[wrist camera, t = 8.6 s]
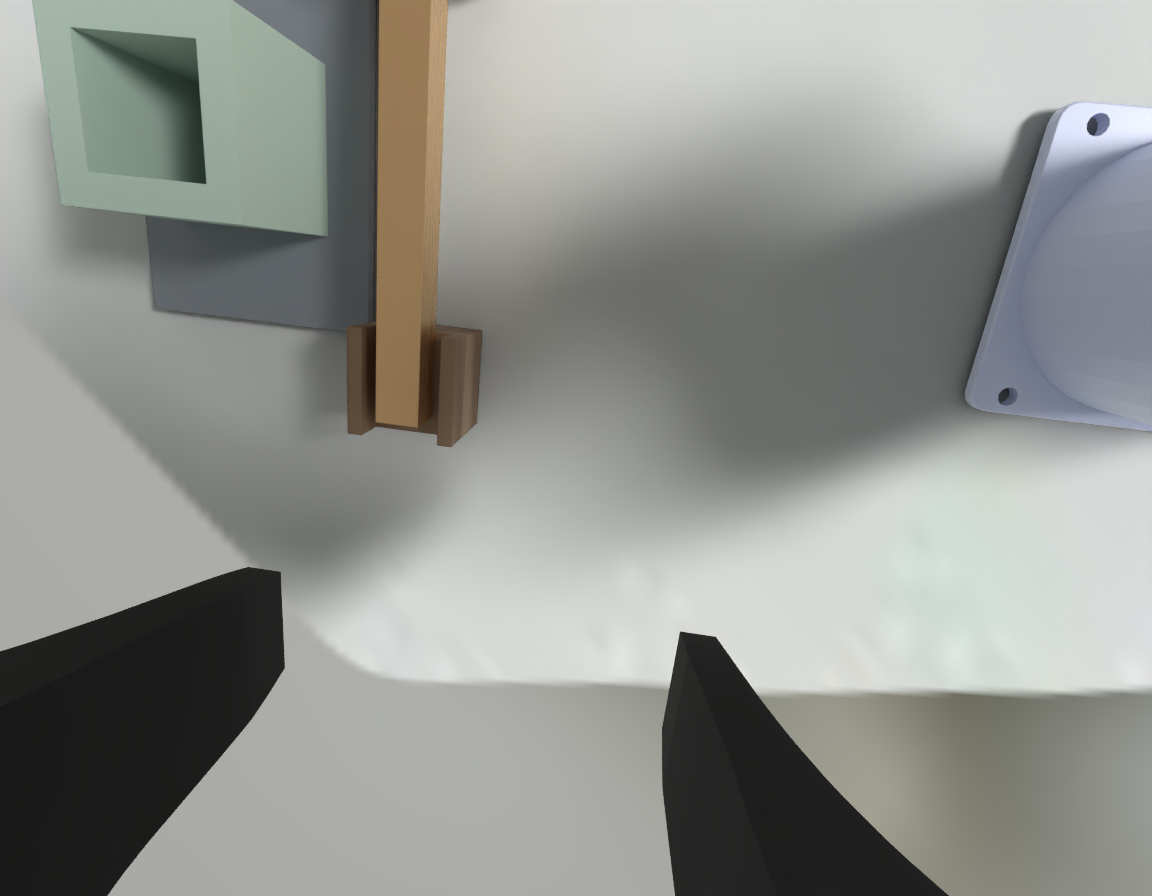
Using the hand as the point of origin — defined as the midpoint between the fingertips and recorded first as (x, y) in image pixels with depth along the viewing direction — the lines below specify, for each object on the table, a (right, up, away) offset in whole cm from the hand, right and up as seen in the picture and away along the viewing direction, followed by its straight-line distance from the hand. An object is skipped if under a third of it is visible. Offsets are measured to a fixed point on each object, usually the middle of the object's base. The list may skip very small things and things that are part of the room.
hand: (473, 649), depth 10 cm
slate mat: (-8, +12, +7) cm, 16 cm away
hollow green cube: (-8, +12, +7) cm, 16 cm away
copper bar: (-2, +11, +5) cm, 12 cm away
